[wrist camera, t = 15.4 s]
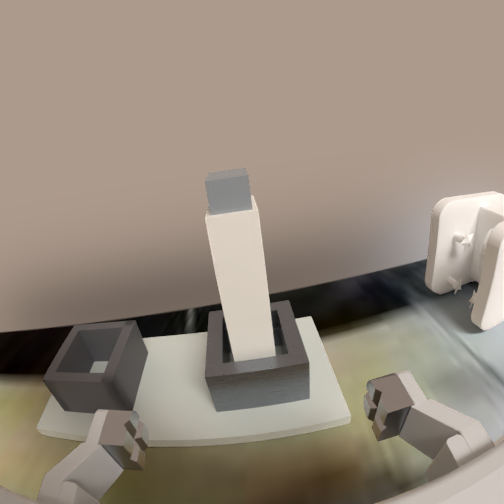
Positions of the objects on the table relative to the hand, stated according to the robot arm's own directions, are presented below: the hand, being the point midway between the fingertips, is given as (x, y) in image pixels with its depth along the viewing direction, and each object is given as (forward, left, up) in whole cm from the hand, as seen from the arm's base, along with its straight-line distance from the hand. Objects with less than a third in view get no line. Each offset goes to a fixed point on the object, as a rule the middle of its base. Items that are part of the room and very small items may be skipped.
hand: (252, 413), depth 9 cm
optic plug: (0, +12, -10) cm, 16 cm away
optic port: (0, +12, -10) cm, 16 cm away
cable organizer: (+28, +15, -11) cm, 34 cm away
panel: (-7, +12, -11) cm, 18 cm away
